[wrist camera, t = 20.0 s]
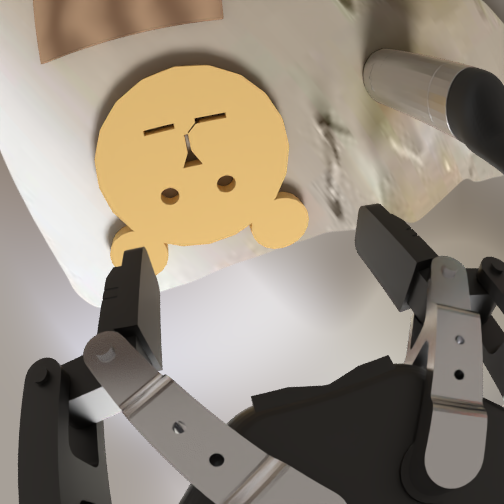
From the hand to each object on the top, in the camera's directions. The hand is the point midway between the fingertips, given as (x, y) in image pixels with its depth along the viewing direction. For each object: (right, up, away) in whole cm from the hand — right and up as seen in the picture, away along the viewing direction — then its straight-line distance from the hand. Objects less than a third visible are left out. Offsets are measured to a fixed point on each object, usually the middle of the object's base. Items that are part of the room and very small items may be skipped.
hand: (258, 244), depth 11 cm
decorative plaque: (-8, +11, +31) cm, 34 cm away
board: (-16, +32, +13) cm, 38 cm away
